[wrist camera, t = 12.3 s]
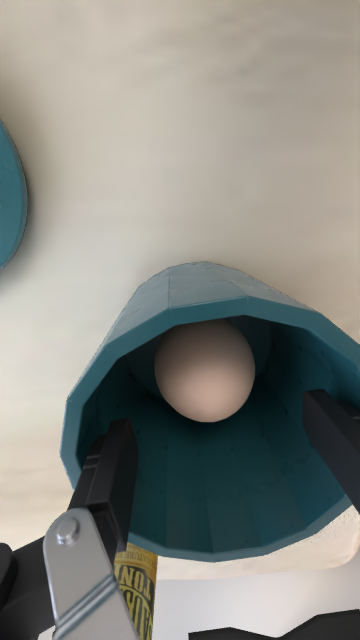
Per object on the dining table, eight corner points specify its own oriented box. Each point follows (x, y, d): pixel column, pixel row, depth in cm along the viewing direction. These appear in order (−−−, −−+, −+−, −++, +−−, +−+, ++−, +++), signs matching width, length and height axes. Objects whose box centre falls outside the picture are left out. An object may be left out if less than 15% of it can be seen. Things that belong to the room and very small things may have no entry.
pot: (101, 276, 18) (10, 332, 8) (272, 249, 17) (409, 270, 7) (136, 417, 21) (106, 578, 11) (277, 396, 21) (373, 541, 11)
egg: (251, 356, 19) (299, 418, 12) (184, 394, 20) (189, 475, 12) (212, 290, 18) (238, 310, 10) (143, 332, 18) (120, 379, 11)
